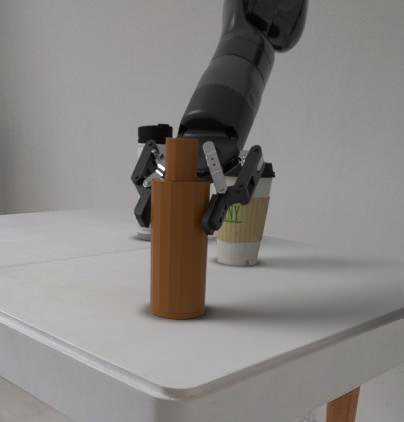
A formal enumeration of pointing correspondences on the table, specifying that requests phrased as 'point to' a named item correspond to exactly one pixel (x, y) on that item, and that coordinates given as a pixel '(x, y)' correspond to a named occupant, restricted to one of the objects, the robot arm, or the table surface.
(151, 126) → the travel mug
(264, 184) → the coffee cup
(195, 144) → the amber bottle
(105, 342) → the table surface
